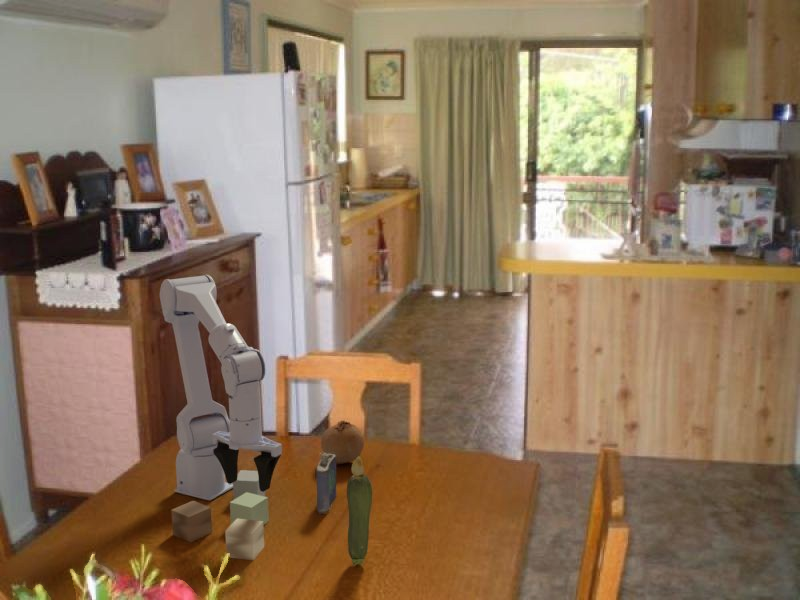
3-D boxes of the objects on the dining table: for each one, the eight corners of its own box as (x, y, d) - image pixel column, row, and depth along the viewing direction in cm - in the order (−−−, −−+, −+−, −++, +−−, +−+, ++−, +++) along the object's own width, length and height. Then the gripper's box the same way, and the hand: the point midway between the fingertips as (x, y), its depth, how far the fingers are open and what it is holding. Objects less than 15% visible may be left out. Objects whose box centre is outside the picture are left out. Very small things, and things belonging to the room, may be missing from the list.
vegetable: (347, 557, 155) (345, 448, 151) (372, 556, 155) (371, 447, 151) (348, 570, 150) (346, 458, 146) (373, 568, 151) (372, 457, 147)
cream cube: (226, 557, 155) (225, 531, 154) (238, 544, 160) (237, 518, 159) (253, 560, 154) (252, 534, 153) (264, 547, 159) (263, 521, 158)
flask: (328, 514, 171) (326, 462, 169) (313, 514, 171) (311, 461, 169) (338, 495, 180) (337, 444, 178) (324, 494, 180) (322, 444, 178)
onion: (363, 472, 191) (362, 428, 189) (319, 472, 191) (318, 428, 189) (365, 455, 200) (364, 413, 198) (323, 455, 201) (322, 413, 198)
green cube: (231, 527, 166) (229, 502, 165) (247, 516, 171) (246, 492, 170) (252, 532, 164) (251, 507, 163) (268, 521, 168) (267, 497, 167)
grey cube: (233, 503, 176) (232, 480, 175) (241, 493, 181) (240, 470, 180) (258, 505, 176) (257, 481, 175) (265, 494, 180) (264, 471, 179)
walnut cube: (173, 535, 163) (171, 509, 162) (194, 525, 167) (193, 500, 166) (190, 542, 160) (188, 517, 159) (212, 532, 164) (210, 507, 163)
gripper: (200, 416, 163) (203, 486, 166) (264, 429, 156) (267, 501, 159) (224, 405, 169) (228, 472, 172) (287, 417, 162) (290, 486, 165)
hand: (248, 485), depth 166 cm, fingers open, 7 cm apart
